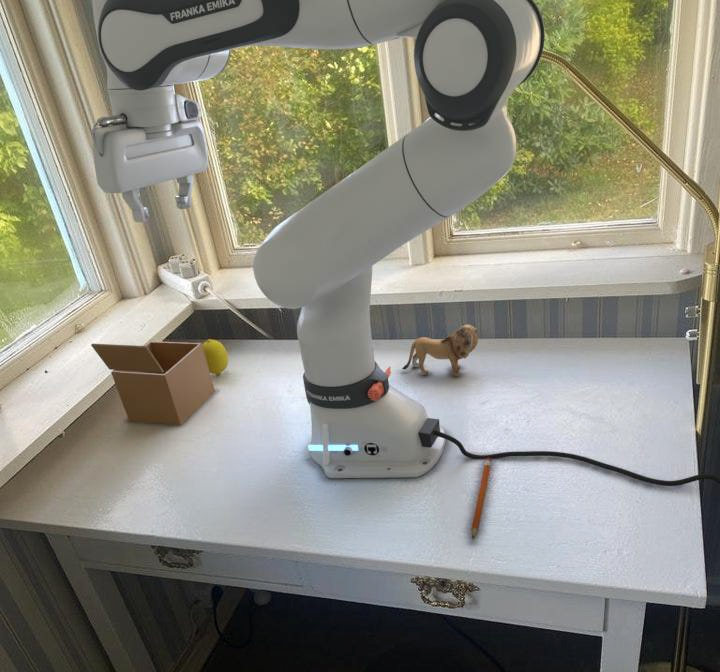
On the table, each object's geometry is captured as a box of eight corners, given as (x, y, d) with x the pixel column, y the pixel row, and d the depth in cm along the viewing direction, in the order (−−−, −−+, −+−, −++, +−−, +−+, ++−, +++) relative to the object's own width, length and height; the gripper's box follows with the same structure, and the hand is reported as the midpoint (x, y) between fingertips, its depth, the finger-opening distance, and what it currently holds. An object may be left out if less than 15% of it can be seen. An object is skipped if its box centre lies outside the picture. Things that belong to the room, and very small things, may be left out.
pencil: (491, 462, 112) (491, 457, 112) (476, 541, 98) (475, 536, 97) (485, 462, 112) (485, 457, 112) (469, 541, 98) (469, 536, 98)
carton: (215, 391, 144) (201, 343, 138) (180, 425, 135) (164, 375, 129) (165, 387, 148) (150, 341, 142) (128, 420, 139) (110, 371, 133)
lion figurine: (479, 363, 139) (478, 319, 134) (478, 376, 135) (476, 331, 130) (404, 365, 142) (399, 322, 137) (400, 378, 138) (395, 335, 133)
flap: (147, 345, 123) (146, 347, 123) (163, 371, 128) (163, 372, 128) (91, 343, 127) (90, 345, 127) (110, 367, 132) (109, 369, 132)
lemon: (218, 366, 153) (209, 331, 149) (237, 371, 150) (228, 335, 146) (199, 378, 150) (189, 343, 145) (218, 383, 147) (209, 347, 142)
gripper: (107, 118, 92) (131, 231, 99) (208, 103, 107) (222, 202, 114) (72, 119, 94) (97, 228, 102) (175, 104, 110) (190, 200, 117)
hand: (164, 214), depth 108 cm, fingers open, 8 cm apart
